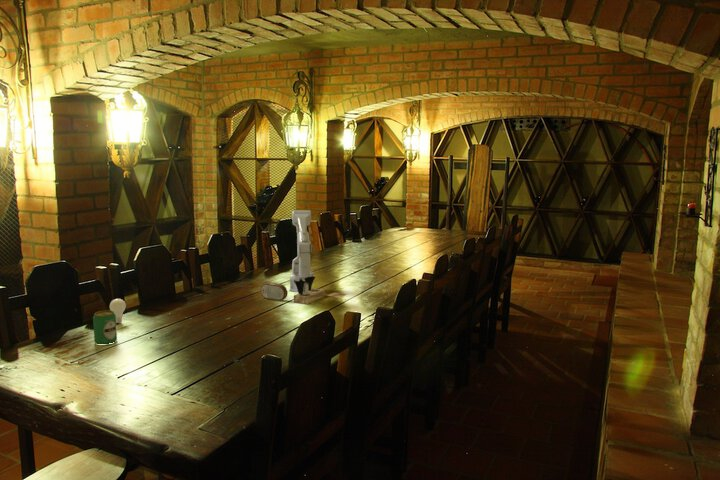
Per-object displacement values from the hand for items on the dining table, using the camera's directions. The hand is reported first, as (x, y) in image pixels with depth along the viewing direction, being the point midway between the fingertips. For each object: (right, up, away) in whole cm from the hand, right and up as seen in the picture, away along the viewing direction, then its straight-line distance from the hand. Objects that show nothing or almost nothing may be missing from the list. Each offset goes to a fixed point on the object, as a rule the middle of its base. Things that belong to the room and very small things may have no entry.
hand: (304, 292), depth 277 cm
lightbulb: (-77, -10, -39) cm, 87 cm away
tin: (-16, -4, +4) cm, 17 cm away
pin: (0, -5, +1) cm, 5 cm away
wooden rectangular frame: (+2, -4, +5) cm, 7 cm away
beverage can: (-72, -14, -62) cm, 96 cm away
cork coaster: (+16, -3, +13) cm, 21 cm away
